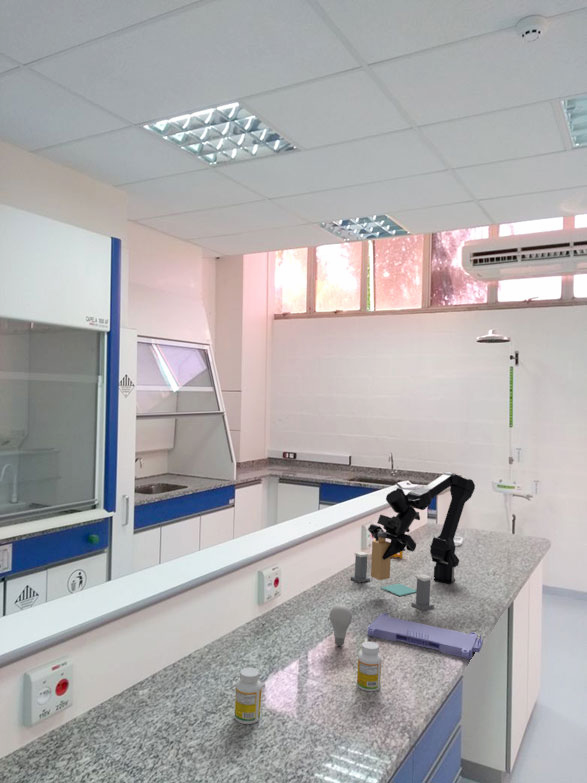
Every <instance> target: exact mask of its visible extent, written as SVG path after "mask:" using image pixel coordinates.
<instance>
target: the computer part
mask: <svg viewBox="0 0 587 783" xmlns="http://www.w3.org/2000/svg"><path fill="white" fill-rule="evenodd" d="M367 636H370V637H374V638H377V639H378V638H379V639H383V640H387V641H391V642H395V643H396V642H397V641H398V642H402V643H405V644H407V645H408V644H409V645H412V646H418V647H420V648H426V649H432V650H437V651H438V652H439V653H442V654H448V655H450V656H456V657H460V658H464V659H468V660H471V659H472V657H473V652H474V653H480V651H481V649H482V647H483V644H484V643H483V641H484V639H482V634H480V635H479V638H478V635H477V632H475V631H471V632H469V633H466V632H462V631H457V630H451V629H446V628H442V627H438V626H434V625H429V624H424V623H421V622H420V623H419V622H415V621H410V620H405V619H400V618H396V617H392V616H389V614H388V613H385V612H383V613H381V614H379V615H378V616H377V617H376V618H375V619H374V620H373V621H372V622H370V624H369V625H368V626H367Z"/></svg>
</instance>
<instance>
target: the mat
mask: <svg viewBox="0 0 587 783" xmlns="http://www.w3.org/2000/svg"><path fill="white" fill-rule="evenodd" d="M381 588H383V589H385V590H384V591H386V590H387V591H386V592H388V591H390V592H392V593H391V594H393V593H394V594H393V595H395V594H396V596H397V595H398V596H397V597H403V596H402V595H404V596H407V595H406V594H408V595H411V594H416V592H417V589H414V588H412V587H408V586H406V585H404V584H402V583H395V584H390V585H386V586H381V587H380V589H381ZM383 589H382V590H383ZM390 592H389V593H390Z"/></svg>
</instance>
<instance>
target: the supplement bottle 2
mask: <svg viewBox="0 0 587 783" xmlns="http://www.w3.org/2000/svg"><path fill="white" fill-rule="evenodd" d="M379 652H380V645H379V644H378V643H377V642H374V641H364V642H362V644H361V651H360V652H359V654H358V656H357V657H358V658H357V678H356V685H357V687H358V688H359V689H361V691H365V692H377V691H378V690H379V689H380V688H381V680H382V679H381V678H382V677H381V676H382V674H381V673H382V656H381V653H379Z"/></svg>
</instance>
